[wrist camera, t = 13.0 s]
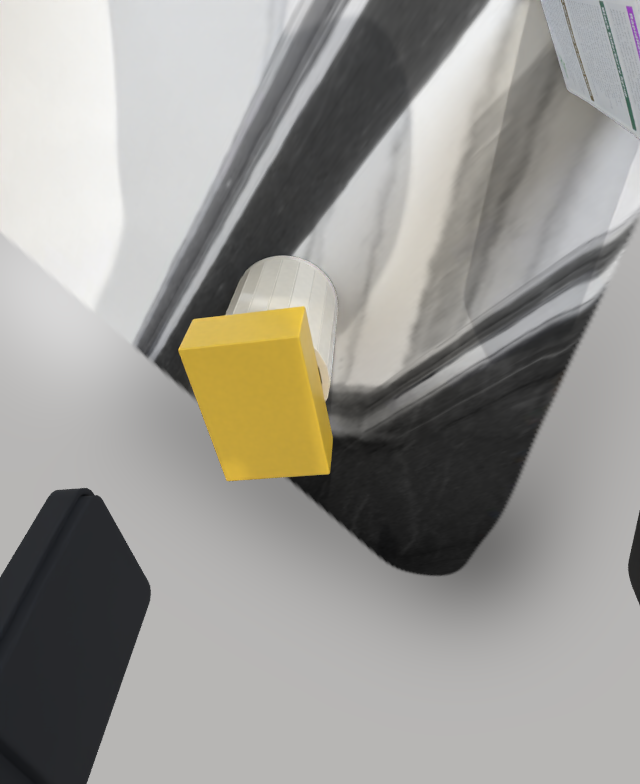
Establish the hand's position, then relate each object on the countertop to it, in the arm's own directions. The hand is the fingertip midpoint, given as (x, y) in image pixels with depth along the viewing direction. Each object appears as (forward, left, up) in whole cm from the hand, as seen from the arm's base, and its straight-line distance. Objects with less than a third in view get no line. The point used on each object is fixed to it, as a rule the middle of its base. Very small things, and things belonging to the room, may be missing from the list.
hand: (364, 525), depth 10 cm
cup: (+10, -7, -28) cm, 31 cm away
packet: (+10, -7, -19) cm, 23 cm away
